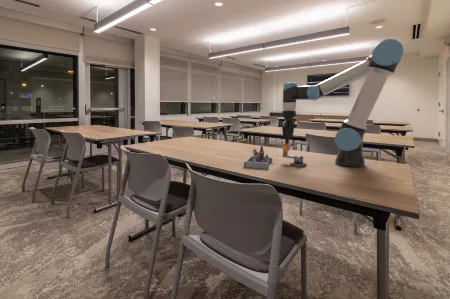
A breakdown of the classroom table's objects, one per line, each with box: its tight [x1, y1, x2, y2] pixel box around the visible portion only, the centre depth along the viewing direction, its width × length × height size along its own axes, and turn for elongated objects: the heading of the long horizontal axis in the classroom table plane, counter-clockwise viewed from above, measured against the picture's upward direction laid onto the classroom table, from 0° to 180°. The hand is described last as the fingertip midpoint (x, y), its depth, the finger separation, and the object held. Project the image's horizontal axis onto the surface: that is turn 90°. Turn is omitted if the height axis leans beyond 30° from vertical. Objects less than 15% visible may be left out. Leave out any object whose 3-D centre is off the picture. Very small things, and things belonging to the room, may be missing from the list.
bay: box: [243, 155, 273, 170], centre depth 145 cm, size 14×16×3 cm
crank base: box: [289, 161, 307, 168], centre depth 144 cm, size 9×9×1 cm
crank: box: [282, 142, 304, 164], centre depth 145 cm, size 13×5×10 cm, turn 48°
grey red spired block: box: [251, 144, 270, 164], centre depth 146 cm, size 11×11×12 cm
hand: (287, 150), depth 150 cm, fingers closed
